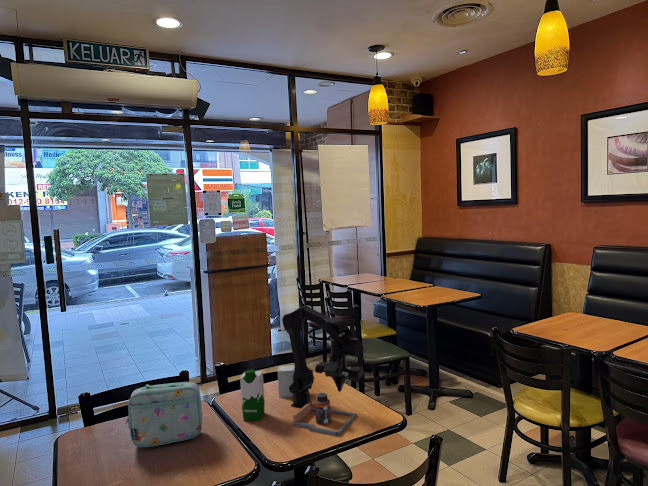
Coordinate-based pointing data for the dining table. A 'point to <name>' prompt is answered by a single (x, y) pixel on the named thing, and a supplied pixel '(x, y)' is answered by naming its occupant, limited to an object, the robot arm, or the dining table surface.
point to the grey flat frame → (303, 413)
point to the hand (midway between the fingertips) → (339, 391)
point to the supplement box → (285, 380)
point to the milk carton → (252, 395)
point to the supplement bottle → (322, 409)
